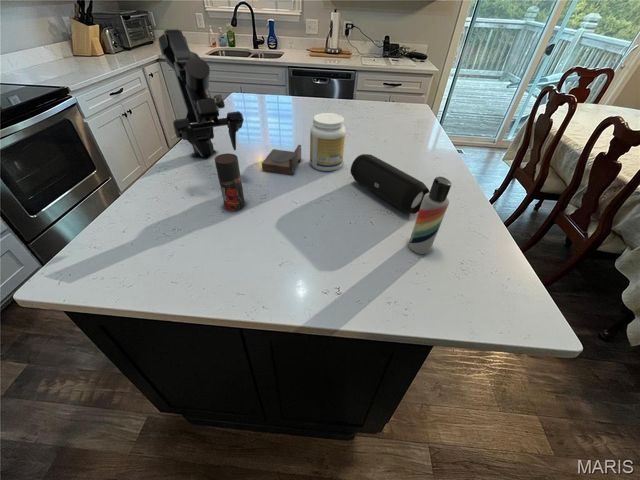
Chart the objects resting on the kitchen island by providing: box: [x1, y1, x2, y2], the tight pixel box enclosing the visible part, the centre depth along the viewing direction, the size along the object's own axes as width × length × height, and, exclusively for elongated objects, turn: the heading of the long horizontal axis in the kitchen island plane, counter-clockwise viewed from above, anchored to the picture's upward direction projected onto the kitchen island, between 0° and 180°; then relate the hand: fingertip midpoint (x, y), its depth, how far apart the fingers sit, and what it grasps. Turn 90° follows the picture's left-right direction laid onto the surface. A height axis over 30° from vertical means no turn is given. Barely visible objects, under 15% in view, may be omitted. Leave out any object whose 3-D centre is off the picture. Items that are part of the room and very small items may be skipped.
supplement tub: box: [309, 112, 346, 172], centre depth 104 cm, size 12×12×17 cm
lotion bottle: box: [408, 176, 453, 255], centre depth 70 cm, size 6×6×20 cm
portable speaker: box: [350, 153, 430, 215], centre depth 92 cm, size 26×10×10 cm, turn 37°
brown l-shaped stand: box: [261, 144, 302, 176], centre depth 106 cm, size 11×12×6 cm
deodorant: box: [214, 153, 246, 212], centre depth 83 cm, size 6×6×15 cm
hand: (219, 152), depth 84 cm, fingers open, 9 cm apart
